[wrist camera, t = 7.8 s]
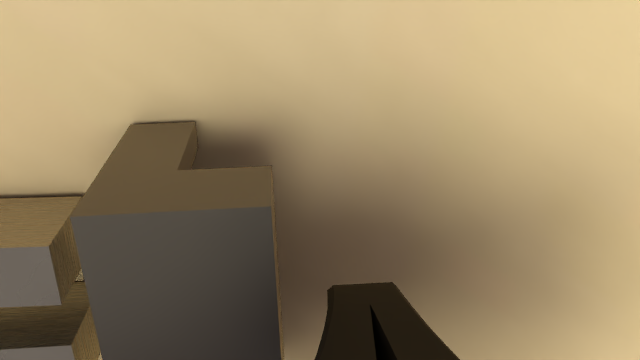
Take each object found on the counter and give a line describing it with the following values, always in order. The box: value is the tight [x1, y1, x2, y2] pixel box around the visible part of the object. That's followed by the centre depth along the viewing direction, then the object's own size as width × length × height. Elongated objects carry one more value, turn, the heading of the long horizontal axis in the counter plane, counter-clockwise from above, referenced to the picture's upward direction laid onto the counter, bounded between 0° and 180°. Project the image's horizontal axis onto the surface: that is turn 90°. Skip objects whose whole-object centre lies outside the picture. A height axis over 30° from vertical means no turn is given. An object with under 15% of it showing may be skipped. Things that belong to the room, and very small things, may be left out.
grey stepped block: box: [70, 122, 284, 360], centre depth 13 cm, size 7×3×4 cm, turn 2°
